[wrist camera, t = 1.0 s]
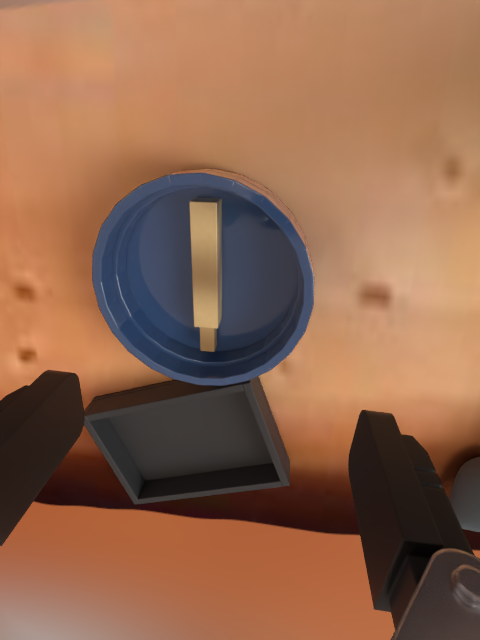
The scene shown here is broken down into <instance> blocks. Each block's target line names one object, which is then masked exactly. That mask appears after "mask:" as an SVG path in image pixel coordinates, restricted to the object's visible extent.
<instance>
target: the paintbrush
mask: <svg viewBox="0 0 480 640" xmlns="http://www.w3.org/2000/svg"><path fill="white" fill-rule="evenodd" d="M449 501H450V503H451V505H452V508H453V510H454V512H455V514H456V516H457V519H458V521H459V523H460V525H461V527H462V528H463V529H467V530H472V531H477V532H480V457H476V458H472V459H470V460H468V461H467V462H465V463H464V464H463V465H462V466H461V468H460V469H459V471H458V473H457V475H456V477H455V480H454V483H453V486H452V490H451V493H450V497H449Z"/></svg>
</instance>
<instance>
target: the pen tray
mask: <svg viewBox="0 0 480 640" xmlns="http://www.w3.org/2000/svg"><path fill="white" fill-rule="evenodd" d="M84 414H85V420H84V425H85V427H86V428H87V430H88V432H89V433H90V435H91V436H92V438H93V439H94V441H95V443H96V444H97V446H98V447H99V449H100V450H101V452H102V454H103V455H104V457H105V458H106V460H107V462H108V463H109V465H110V466H111V468H112V469H113V471H114V473H115V474H116V476H117V477H118V479H119V480H120V482H121V484H122V485H123V487H124V488H125V490H126V491H127V493H128V495H129V496H130V498H131V499H132V501H133V502H134V504H143V503H151V502H159V501H168V500H176V499H184V498H192V497H200V496H209V495H217V494H225V493H233V492H241V491H250V490H258V489H266V488H274V487H282V486H289V472H290V466H289V465H290V461H289V458H288V455H287V453H286V450H285V447H284V445H283V442H282V439H281V437H280V434H279V431H278V428H277V426H276V423H275V420H274V418H273V415H272V412H271V410H270V407H269V404H268V401H267V399H266V396H265V393H264V391H263V388H262V385H261V383H260V380H259V377H258V376H257V377H255V378H253V379H251V380H248V381H244V382H239V383H234V384H229V385H223V386H218V385H199V384H198V385H196V384H192V383H188V382H184V381H180V380H173V381H169V382H164V383H159V384H155V385H150V386H145V387H141V388H136V389H131V390H127V391H122V392H117V393H113V394H108V395H103V396H99V397H95V398H94V399H93V400H92V401H91V403H90V404H89V405H88V407H87V408H86V409H85V410H84Z"/></svg>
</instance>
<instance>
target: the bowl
mask: <svg viewBox="0 0 480 640" xmlns="http://www.w3.org/2000/svg"><path fill="white" fill-rule="evenodd" d="M196 197H197V198H221V199H222V319H221V321H220V324H219V326H218V328H217V346H216V349H215V351H214V352H209V351H201V350H200V327H194V310H193V284H192V258H191V232H190V207H189V202H190V201H191V200H193V199H195V198H196ZM92 281H93V286H94V290H95V294H96V298H97V302H98V306H99V307H100V308H99V309H100V311H101V313H102V314H103V316H104V318H105V320H106V322H107V324H108V326H109V328H110V330H111V331H112V333H113V334H114V335H115V336H116V337H117V339H118V340H119V341H120V342H121V343H122V344H123V346H124V347H125V348H126V349H127V350H128V351H129V352H130V353H131V354H133V355H134V356H135V357H137V358H138V359H139V360H140V361H142V362H143V363H144V364H146V365H147V366H148V367H150V368H151V369H153V370H155V371H158V372H160V373H162V374H164V375H166V376H168V377H170V378H172V379H173V378H174V379H176V380H180V381H184V382H188V383H192V384H196V385H198V384H199V385H218V386H223V385H229V384H234V383H239V382H244V381H248V380H251V379H253V378H255V377H257V376H259V375H261V374H264V373H266V372H268V371H270V370H272V369H273V368H274V367H275V366H276V365H278V364H279V363H280V362H281V361H282V360H283V359H285V358H286V357H287V356H288V355H289V354H290V353H291V352H292V351H293V349H294V348H295V346H296V345H297V343H298V342H299V340H300V339H301V337H302V336H303V334H304V333H305V331H306V328H307V325H308V322H309V319H310V316H311V313H312V309H313V305H314V273H313V266H312V260H311V256H310V253H309V249H308V245H307V241H306V237H305V236H304V233H303V231H302V229H301V228H300V226H299V224H298V223H297V221H296V219H295V218H294V216H293V214H292V212H291V211H290V210H289V209H288V208H287V207H286V206H285V205H284V204H283V203H282V202H281V201H280V200H279V199H278V198H277V197H276V196H275V195H274V194H273V193H272V192H271V191H270V190H268V189H267V188H265V187H263V186H261V185H260V184H258V183H256V182H254V181H252V180H250V179H249V178H247V177H245V176H242V175H240V174H235V173H231V172H226V171H222V170H218V169H196V170H184V171H180V172H176V173H172V174H169V175H166V176H163V177H161V178H158V179H155V180H153V181H150V182H147V183H145V184H142V185H140V186H138V187H137V188H136V189H134V190H133V191H132V192H131V193H129V194H128V195H127V196H126V197H124V198H123V199H122V200H121V201H119V202H118V203H117V204H116V205H115V207H114V208H113V210H112V211H111V213H110V214H109V216H108V217H107V219H106V220H105V222H104V223H103V225H102V226H101V228H100V231H99V234H98V238H97V241H96V245H95V248H94V251H93V265H92Z"/></svg>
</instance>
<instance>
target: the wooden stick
mask: <svg viewBox="0 0 480 640" xmlns="http://www.w3.org/2000/svg"><path fill="white" fill-rule="evenodd" d="M189 207H190V232H191V258H192V284H193V310H194V327H200V350H201V351H209V352H214V351H215V349H216V346H217V328H218V326H219V324H220V321H221V319H222V199H221V198H197V197H196V198H195V199H193V200H191V201H190V202H189Z"/></svg>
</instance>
